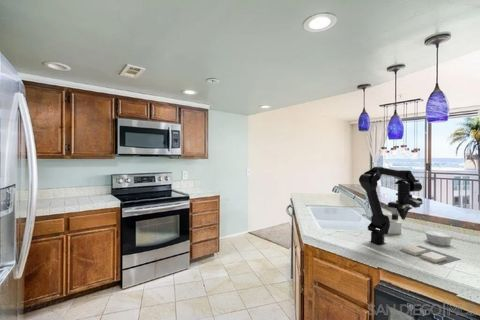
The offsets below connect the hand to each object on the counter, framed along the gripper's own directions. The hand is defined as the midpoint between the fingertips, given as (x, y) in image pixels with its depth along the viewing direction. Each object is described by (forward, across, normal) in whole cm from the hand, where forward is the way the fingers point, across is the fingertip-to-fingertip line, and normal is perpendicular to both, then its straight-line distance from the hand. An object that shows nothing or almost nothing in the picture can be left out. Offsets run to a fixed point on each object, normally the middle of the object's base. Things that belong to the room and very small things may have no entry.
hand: (403, 219), depth 135 cm
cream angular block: (+11, -9, -22) cm, 26 cm away
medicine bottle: (+12, +8, +12) cm, 19 cm away
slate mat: (+12, -10, -18) cm, 24 cm away
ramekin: (+12, +14, -10) cm, 21 cm away
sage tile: (+11, -9, -14) cm, 20 cm away
